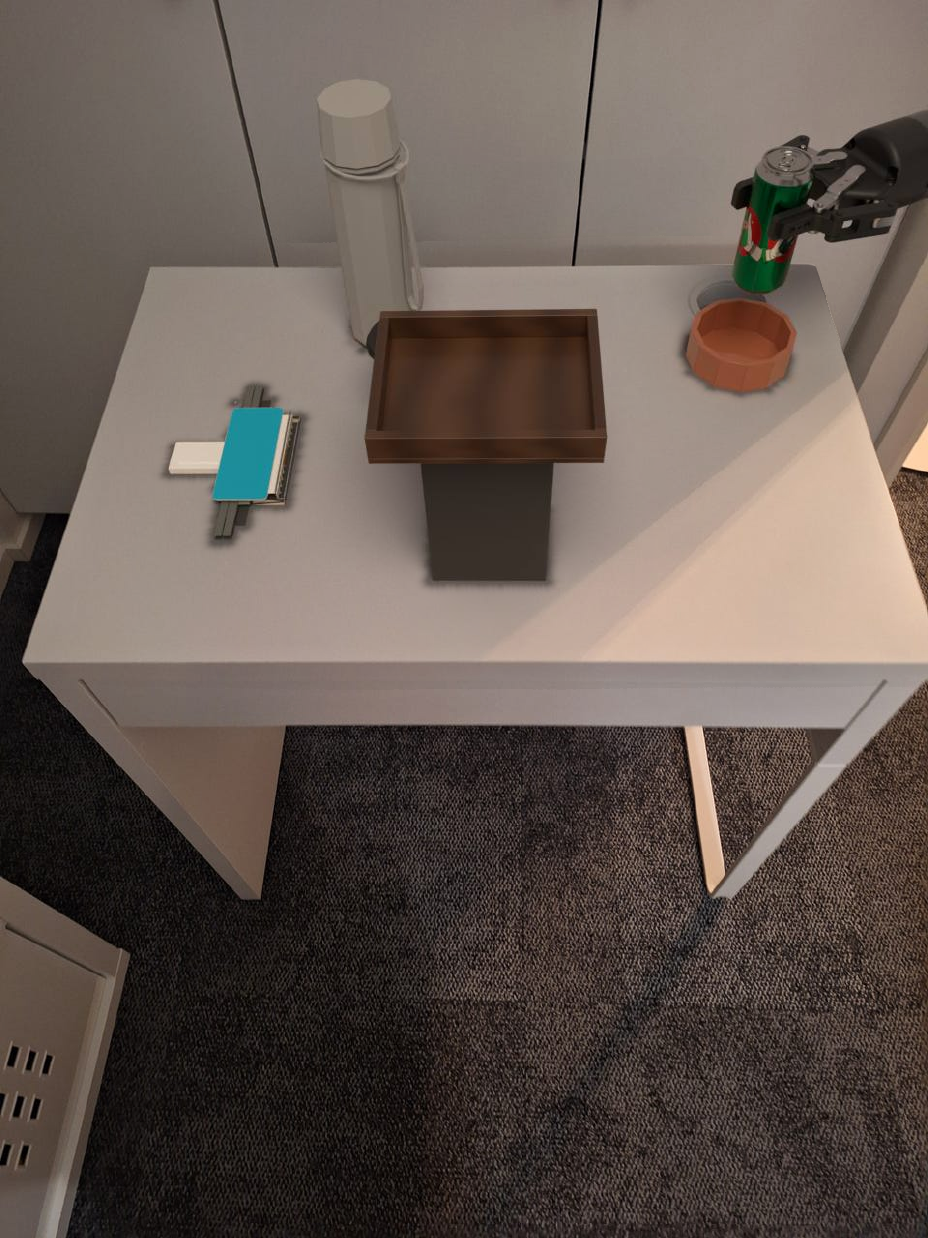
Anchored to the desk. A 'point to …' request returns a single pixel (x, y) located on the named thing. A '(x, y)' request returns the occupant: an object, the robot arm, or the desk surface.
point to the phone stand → (245, 460)
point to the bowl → (740, 344)
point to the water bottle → (368, 200)
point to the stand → (488, 520)
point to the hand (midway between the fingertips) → (753, 212)
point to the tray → (487, 388)
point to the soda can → (772, 191)
